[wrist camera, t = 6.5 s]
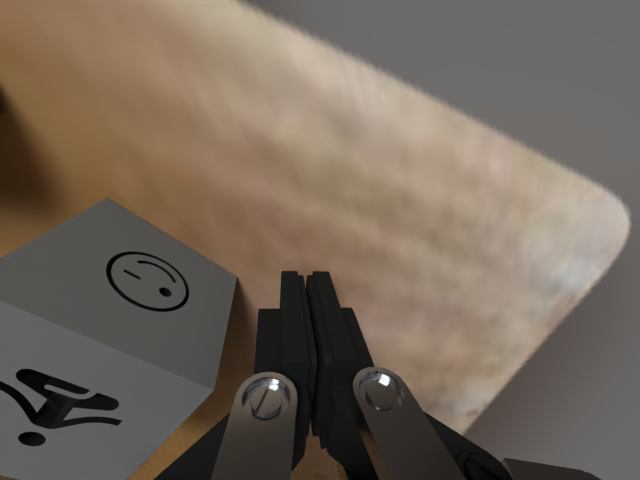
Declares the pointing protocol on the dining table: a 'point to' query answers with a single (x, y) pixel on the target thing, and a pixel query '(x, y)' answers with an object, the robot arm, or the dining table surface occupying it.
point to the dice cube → (104, 345)
